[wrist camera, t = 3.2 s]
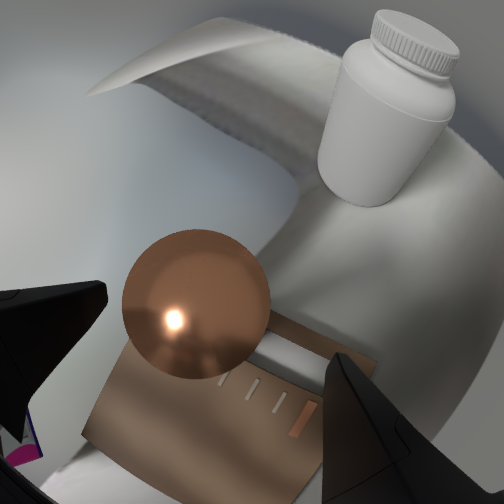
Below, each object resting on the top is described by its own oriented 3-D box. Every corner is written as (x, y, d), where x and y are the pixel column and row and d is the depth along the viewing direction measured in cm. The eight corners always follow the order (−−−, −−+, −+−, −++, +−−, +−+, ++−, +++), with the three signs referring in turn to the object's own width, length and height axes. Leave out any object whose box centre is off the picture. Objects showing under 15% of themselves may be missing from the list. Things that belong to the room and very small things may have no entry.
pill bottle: (308, 136, 25) (338, -9, 10) (384, 142, 25) (441, 22, 10) (321, 209, 22) (387, 43, 8) (405, 211, 22) (505, 91, 8)
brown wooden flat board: (262, 528, 13) (262, 536, 12) (87, 432, 16) (80, 434, 15) (371, 361, 18) (378, 361, 17) (180, 262, 21) (176, 257, 20)
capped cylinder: (243, 367, 18) (222, 407, 5) (197, 341, 18) (99, 325, 6) (268, 321, 19) (297, 271, 7) (223, 297, 20) (171, 207, 7)
